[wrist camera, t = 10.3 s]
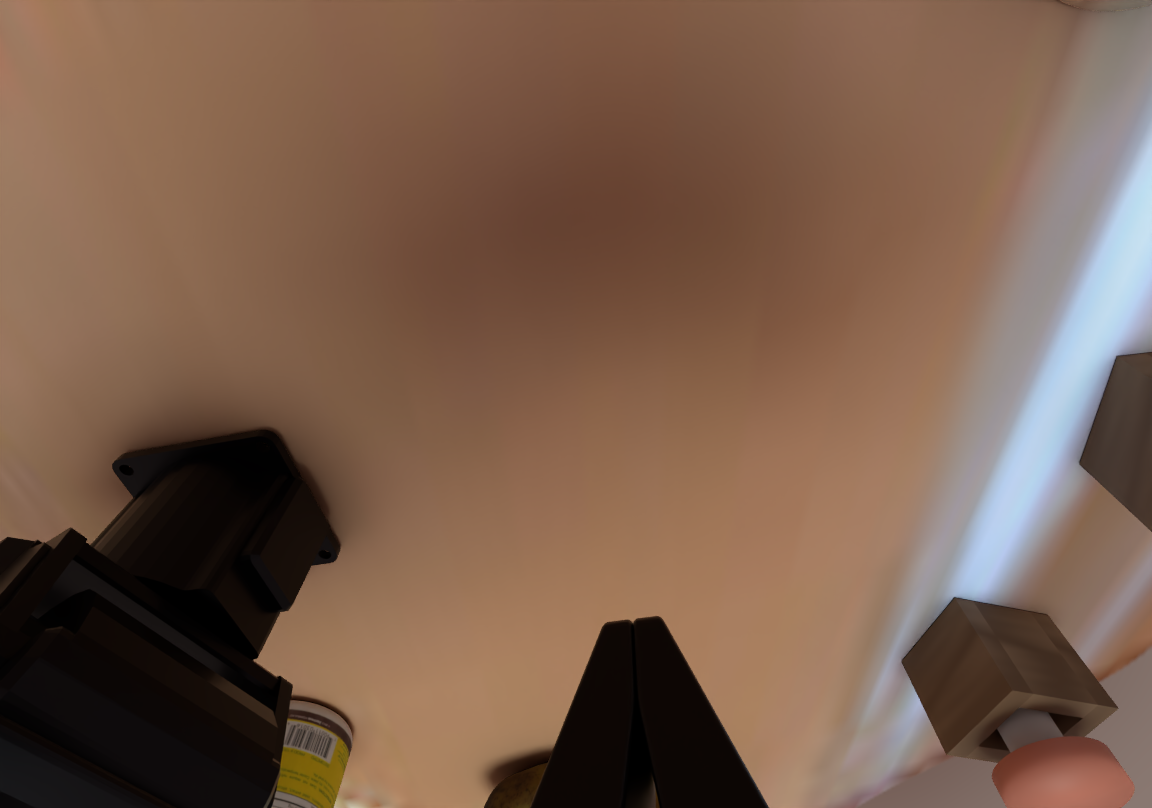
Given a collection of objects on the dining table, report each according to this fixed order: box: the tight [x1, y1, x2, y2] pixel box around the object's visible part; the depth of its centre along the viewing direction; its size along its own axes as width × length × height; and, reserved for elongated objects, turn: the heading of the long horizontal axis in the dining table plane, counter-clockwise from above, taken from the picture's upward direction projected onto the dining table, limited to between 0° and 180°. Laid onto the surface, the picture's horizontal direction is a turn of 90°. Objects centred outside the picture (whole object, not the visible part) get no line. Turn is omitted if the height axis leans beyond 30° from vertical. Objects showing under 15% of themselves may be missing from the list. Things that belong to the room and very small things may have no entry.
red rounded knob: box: [992, 708, 1134, 808], centre depth 25 cm, size 4×4×5 cm
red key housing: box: [902, 598, 1118, 763], centre depth 27 cm, size 5×5×4 cm
